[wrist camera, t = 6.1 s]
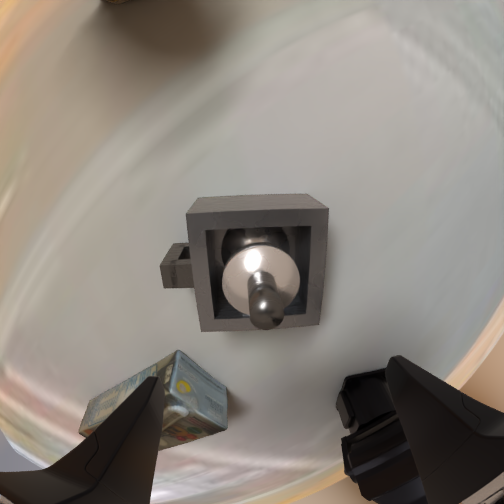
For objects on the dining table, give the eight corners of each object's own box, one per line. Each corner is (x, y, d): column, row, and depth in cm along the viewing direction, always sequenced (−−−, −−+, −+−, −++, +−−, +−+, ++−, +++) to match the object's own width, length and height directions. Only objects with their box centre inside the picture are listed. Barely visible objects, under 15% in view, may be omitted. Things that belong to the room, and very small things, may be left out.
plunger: (288, 215, 20) (324, 263, 12) (287, 278, 21) (314, 350, 13) (219, 218, 19) (207, 269, 11) (224, 281, 21) (218, 357, 13)
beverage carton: (232, 387, 27) (232, 437, 21) (132, 428, 30) (122, 463, 24) (179, 344, 24) (167, 396, 18) (88, 398, 28) (73, 433, 22)
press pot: (307, 193, 20) (328, 208, 15) (303, 289, 23) (318, 324, 18) (170, 199, 19) (150, 216, 15) (182, 295, 22) (171, 331, 18)
